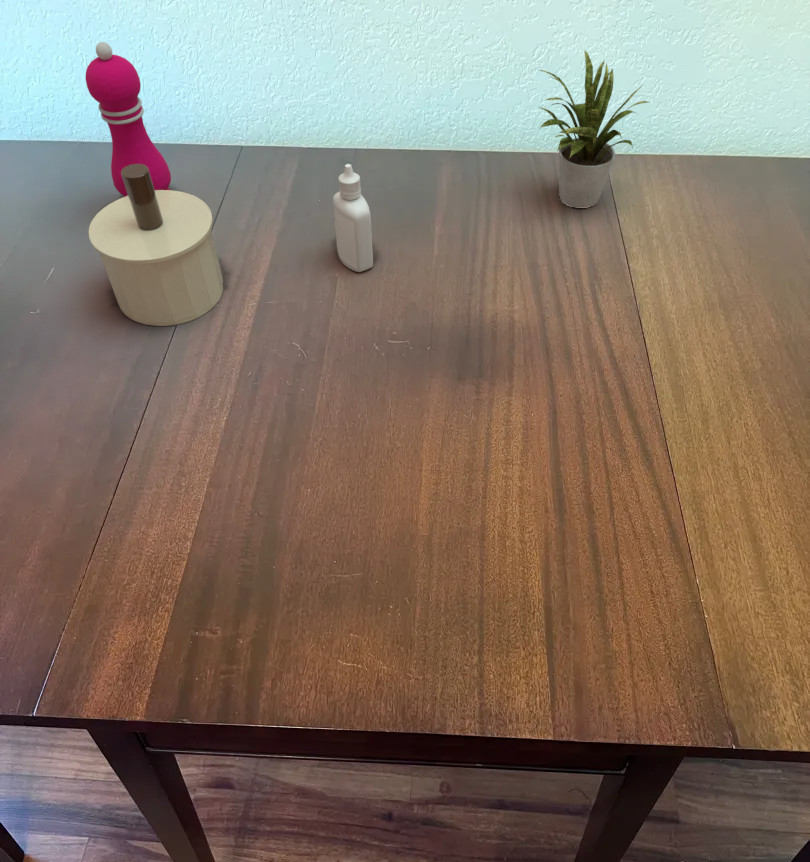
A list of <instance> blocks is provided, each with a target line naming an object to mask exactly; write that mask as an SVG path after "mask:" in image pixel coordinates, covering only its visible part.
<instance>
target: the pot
mask: <svg viewBox="0 0 810 862" xmlns="http://www.w3.org/2000/svg"><path fill="white" fill-rule="evenodd" d="M98 254H99V256H100V258H101V261H102V264H103V267H104V269H105V272H106V275H107V277H108V280H109V283H110V285H111V288H112V291H113V294H114V296H115V299H116V301H117V304H118V307H119V309H120V311H121V312H122V314H123V315H125V316H126V317H127V318H128V319H130V320H132V321H134V322H136V323H139V324H142V325H147V326H152V327H171V326H177V325H181V324H186V323H188V322H191V321H193V320H196V319H198V318H200V317H202V316H204V315H205V314H207V313H209V312H210V311H211V310H212V309H213V308H214V307H215V306H216V305H217V304H218V303H219V301H220V300H221V298H222V295H223V292H224V277H223V273H222V268H221V265H220V261H219V257H218V252H217V248H216V243H215V240H214V235H213V230H211V231H210V233H209V235H208V236H207V238H206V239H205V240H204V241H203V242H202V243H201V244H200V245H198V246H197V247H196V248H194V249H193V250H191V251H189V252H187V253H185V254H183V255H181V256H179V257H176V258H173V259H170V260H166V261H162V262H157V263H150V264H128V263H122V262H117V261H114V260H111V259H108V258H106V257H104V256H103V255H101V254H100V253H98ZM217 302H218V303H217Z"/></svg>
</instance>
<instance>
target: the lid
mask: <svg viewBox="0 0 810 862" xmlns="http://www.w3.org/2000/svg"><path fill="white" fill-rule="evenodd" d="M121 175H122V178H123V181H124V184H125V187H126V191H127V194H128V196H126V197H124V196H123V197H121V198H119V199H116V200H114V201H112V202H111V203H108V204H107V205H106V206H104V207H103V208H102V209H101V210H99V211H98V212H97V213H96V215H95V216H94V217H93V218H92V220H91V222H90V224H89V227H88V238H89V242H90V244H91V246H92V247H93V250H95V251H96V252H97V253H98V254H99V253H100V254H101V255H103V256H104V257H106V258H108V259H111V260H114V261H117V262H122V263H128V264H150V263H157V262H162V261H166V260H170V259H173V258H176V257H179V256H181V255H183V254H185V253H187V252H189V251H191V250H193V249H194V248H196V247H197V246H198V245H200V244H201V243H202V242H203V241H204V240H205V239H206V238H207V236H208V235H209V233H210V231H212V228H213V223H214V219H213V214H212V211H211V209H210V207H209V206H208V204H207V203H206V202H205V201H203V200H202V199H201V198H199V197H198V196H196V195H193V194H190V193H188V192H184V191H179V190H174V189H173V190H171V189H170V190H154V187H153V183H152V180H151V176H150V173H149V169H148V167H147V166H145V165H143V164H131V165H128V166H126V167H124V168H123V169H122V171H121ZM100 254H99V255H100Z"/></svg>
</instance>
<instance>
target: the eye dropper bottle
mask: <svg viewBox="0 0 810 862" xmlns="http://www.w3.org/2000/svg"><path fill="white" fill-rule="evenodd" d="M352 166H353V165H352V164H350V163H347V164H345V165H344V170H343V171H344V172H343V173H341V174H340V175H339V176H338V190H339V191H337V192H336V193H334V195H333V197H332V208H333V209H332V210H333V220H334V230H335V241H336V252H337V255H338V258H339V260H340V262H341V263H342V264H343V265H344V266H345V267H347V268H348V269H350V270H351V271H354V272H357V273H362V272H364V271H367V270H370V269H371V268H373V267H374V251H373V236H372V235H373V234H372V219H371V217H372V216H371V210H370V207H369V203H368V202H367V200H366V199H365V197H364V196H363V195H362V189H361V177H360V175H359V174H358V173H356V172H354V170H353V167H352Z"/></svg>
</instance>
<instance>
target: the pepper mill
mask: <svg viewBox="0 0 810 862" xmlns="http://www.w3.org/2000/svg"><path fill="white" fill-rule="evenodd" d="M95 53H96V56H97V57H96V58H94V59H92V60H91V61H90V62H89V64H88V65H87V67H86V70H85V84H86V88H87V91H88V93H89V94H90V96H91V97H92V98H93V99H94V100H95V101H96V102H98V103H99V104H98V110H99V112H100V116H101V119H102V120H103V121H104V122H105V123H107V126H108V129H109V133H110V137H111V145H112V149H111V150H112V151H111V163H110V173H111V178H112V183H113V186H114V188H115V189H116V191H117V192H118V193H119V194H120V195H121V196H123V197H126V196H128V194H127V191H126V187H125V184H124V181H123V178H122V175H121V171H122V169H123V168H124V167H126V166H128V165H131V164H143V165H145V166H147V167H148V169H149V173H150V176H151V180H152V183H153V187H154V190H171V189H170V188H169V187H170V184H171V180H172V175H171V171H170V168H169V166H168V162H167V161H166V160H165V158H164V156H163V155H162V153H161V152H160V151H159V150H158V148H157V147H156V146H155V144H154V143H153V141H152V140H151V138H150V136H149V134H148V131H147V129H146V126H145V124H144V119H143V115H144V113H145V109H144V107H143V105H142V104H143V103H142V99H141V98H140V97H139V94H140V92H141V87H142V85H141V78H140V76H139V73H138V71H137V69H136V67H135V66H134V65H133V64H132V63H131V61H130V60H129V59H126V58H125V57H123V56H120V55H117V54H113V49H112V47H111V46H110V44H109V43H108V42H105V41H100V42H98V43H97V44H96V46H95Z"/></svg>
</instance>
